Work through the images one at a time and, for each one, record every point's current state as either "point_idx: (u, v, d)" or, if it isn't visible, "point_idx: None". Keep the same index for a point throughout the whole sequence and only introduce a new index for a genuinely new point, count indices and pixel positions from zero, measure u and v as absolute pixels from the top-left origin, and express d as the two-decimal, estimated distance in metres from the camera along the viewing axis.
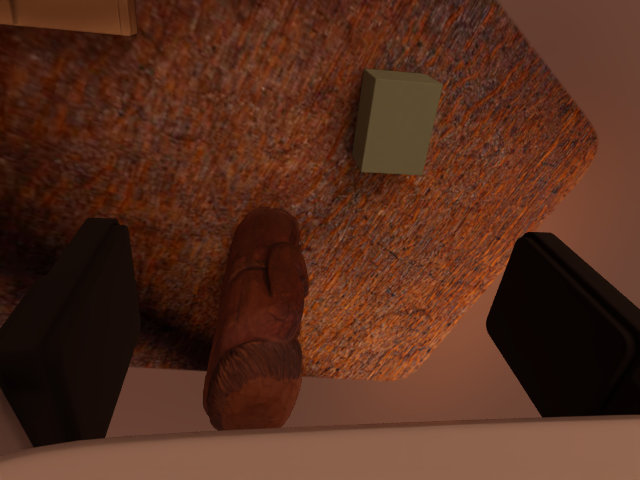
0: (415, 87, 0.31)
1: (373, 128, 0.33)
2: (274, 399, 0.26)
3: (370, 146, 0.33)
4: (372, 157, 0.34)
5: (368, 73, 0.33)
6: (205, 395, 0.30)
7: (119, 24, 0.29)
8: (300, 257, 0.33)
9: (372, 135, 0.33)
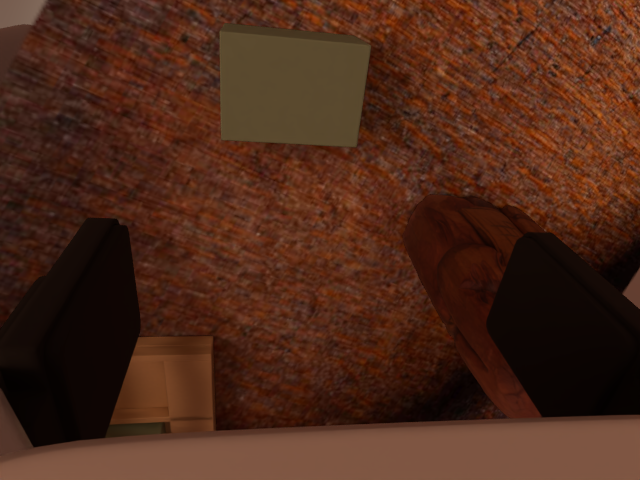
0: (228, 78, 0.21)
1: (291, 136, 0.22)
2: None
3: (318, 137, 0.23)
4: (334, 133, 0.23)
5: None
6: None
7: (202, 361, 0.32)
8: (459, 266, 0.23)
9: (301, 136, 0.23)
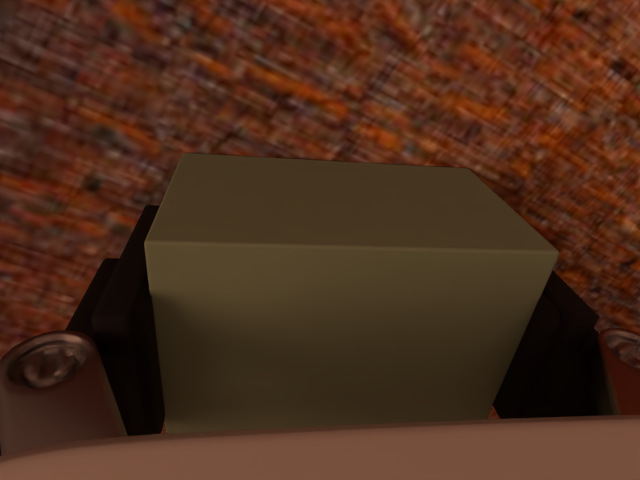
0: (176, 340, 0.08)
1: None
2: None
3: None
4: (436, 415, 0.10)
5: None
6: None
7: None
8: None
9: None
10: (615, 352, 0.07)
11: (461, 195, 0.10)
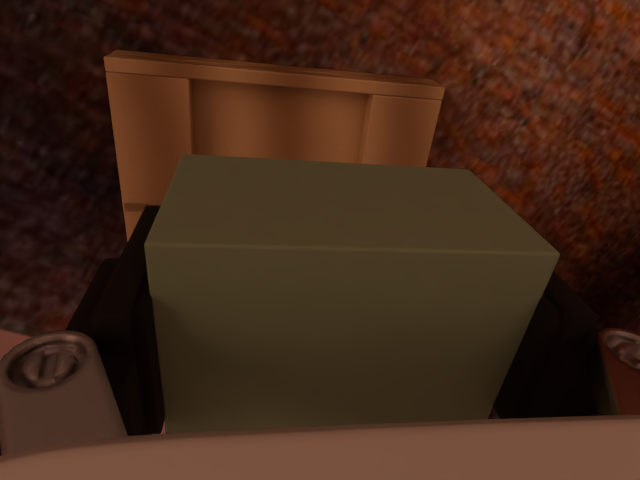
0: (176, 342, 0.08)
1: None
2: None
3: None
4: (437, 417, 0.10)
5: None
6: None
7: (429, 100, 0.21)
8: None
9: None
10: (615, 352, 0.07)
11: (461, 196, 0.09)
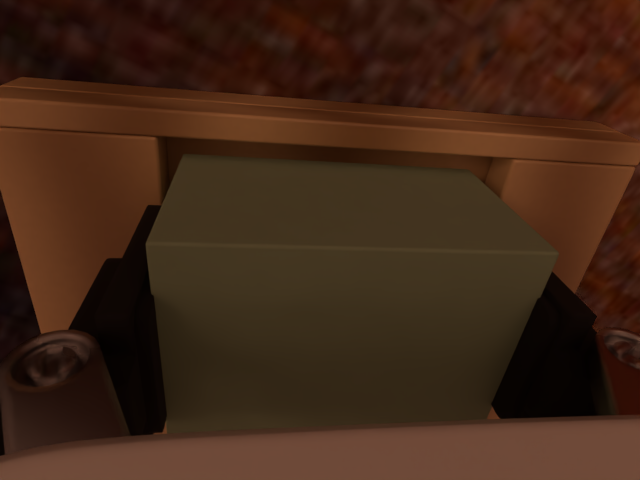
0: (177, 341, 0.08)
1: None
2: None
3: None
4: (436, 416, 0.10)
5: None
6: None
7: (614, 168, 0.11)
8: None
9: None
10: (612, 351, 0.08)
11: (461, 196, 0.10)
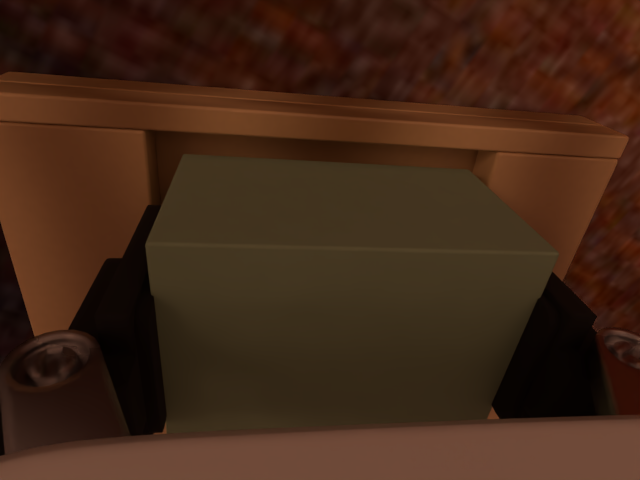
0: (177, 341, 0.08)
1: None
2: None
3: None
4: (436, 416, 0.10)
5: None
6: None
7: (597, 160, 0.11)
8: None
9: None
10: (613, 351, 0.08)
11: (461, 196, 0.10)
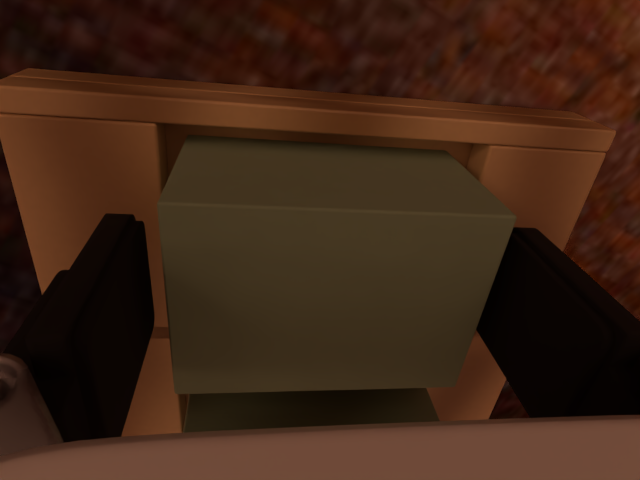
0: (183, 293, 0.09)
1: (324, 379, 0.11)
2: None
3: (379, 378, 0.11)
4: (414, 369, 0.11)
5: None
6: None
7: (586, 153, 0.12)
8: None
9: (345, 378, 0.11)
10: None
11: (436, 171, 0.11)
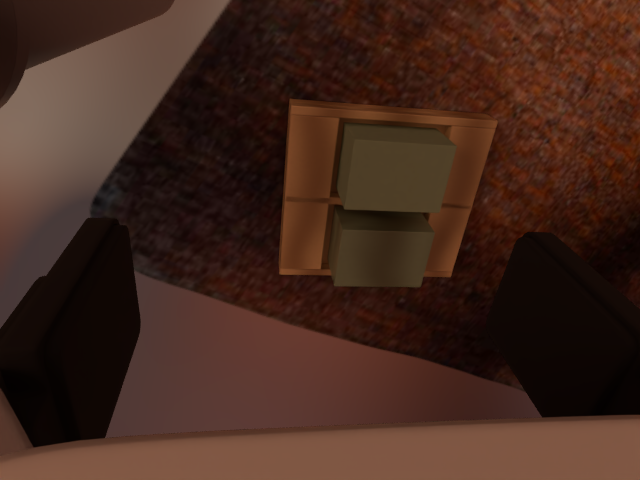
0: (355, 169, 0.29)
1: (394, 206, 0.31)
2: None
3: (412, 206, 0.31)
4: (425, 203, 0.31)
5: None
6: None
7: (487, 129, 0.32)
8: None
9: (401, 206, 0.31)
10: None
11: (432, 134, 0.31)
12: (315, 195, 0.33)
